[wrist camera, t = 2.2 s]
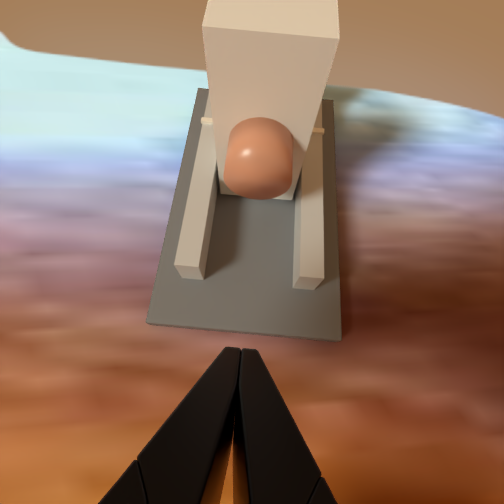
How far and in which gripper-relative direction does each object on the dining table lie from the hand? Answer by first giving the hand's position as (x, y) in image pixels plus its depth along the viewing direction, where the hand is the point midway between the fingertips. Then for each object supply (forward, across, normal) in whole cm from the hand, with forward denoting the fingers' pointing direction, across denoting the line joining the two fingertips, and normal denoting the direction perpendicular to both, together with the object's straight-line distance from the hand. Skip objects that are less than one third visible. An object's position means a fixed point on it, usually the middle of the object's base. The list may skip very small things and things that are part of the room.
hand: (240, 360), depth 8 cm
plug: (+15, 0, -1) cm, 15 cm away
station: (+16, 0, -1) cm, 17 cm away
